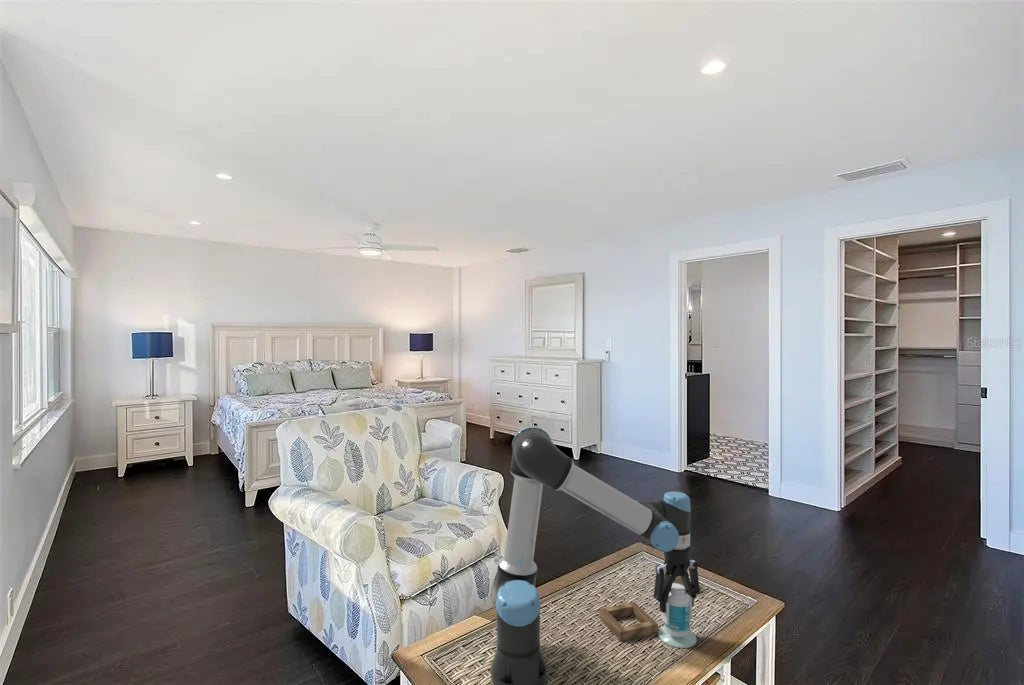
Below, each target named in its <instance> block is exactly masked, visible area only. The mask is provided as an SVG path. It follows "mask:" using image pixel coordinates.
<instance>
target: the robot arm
mask: <svg viewBox="0 0 1024 685" xmlns="http://www.w3.org/2000/svg"><path fill="white" fill-rule="evenodd" d="M511 448H512V449H511V450H512V456H511V465H510V470H509V471H510V474H511V476H513V477H514V481H513V487H512V488H513V489H512V493H511V494H512V495H511V504H510V511H509V518H508V519H509V520H508V526H507V535H506V543H505V548H504V556H502V557H501V558H500V559H499V560H498V564H497V571H496V572H495V576H494V580H493V589H494V598H495V599H494V600H495V610H496V612H495V613H496V650H495V653H494V656H493V659H492V661H491V665H490V681H491V683H492V685H546V683H547V678H548V677H547V676H548V675H547V674H548V670H547V669H548V668H547V664H546V661H545V659H544V655H543V651H542V649H541V617H540V615H541V612H540V611H541V598H540V594H539V591H538V589H537V587H536V580H537V572H538V566H537V564H536V562H535V561H534V556H535V548H536V541H537V532H538V525H539V518H540V510H541V503H542V496H543V489H544V486H546V487H548V488H550V489H551V490H553V491H556V492H558V491H563V492H564V493H566V494H568V495H570V496H571V497H573V498H575V499H577V500H578V501H580V502H581V503H583V504H584V505H587V506H588V507H590V508H592V509H594V510H595V511H597V512H599V513H601V514H602V515H604V516H606V517H607V518H609V519H611V520H613V521H615V522H616V523H618V524H619V525H621V526H623V527H625V528H626V529H628V530H630V531H631V532H633V533H635V534H637V535H638V536H640V537H641V538H643V539H644V540H646V541H648V542H650V543H651V545H652V546H653V547H654V548H655V549H657V550H659V551H660V552H663V556H664V561H663V564H662V565H659V564H658V565H655V567H654V568H655V572H656V573H655V581H654V589H653V598H654V599H655V600H656V601H658V602H659V611H661V620H662V621H663V623H664V622H665V623H666V624H667V625H668V624H669V602H668V601H667V599H668V596H669V593H670V590H671V587H672V584H673V581H675V579H676V577H678V576H681V578H682V581H683V584H684V586H685V593H686V594H687V595H688V597H689V599H690V620H692V619H693V607H694V605H695V599H696V598H697V597H698V596H697V595H700V593H701V591H700V582H699V573H698V569H699V568H698V567H699V562H698V561H696V560H694V559H693V558H691V547H690V546H691V512H692V510H691V499H690V497H689V495H687V494H686V493H684V492H680V491H668V492H665V493H664V495H663V499H661V500H660V499H659V500H635V499H634V498H631V497H630V496H628V495H627V494H625V493H623V492H622V491H620V490H618V489H617V488H615V487H613V486H611V485H610V484H608V483H606V482H605V481H602V480H601V479H600V478H598V477H596V476H595V475H593V474H591V473H589V472H587V471H586V470H584V469H582V468H581V467H579V466H577V465H575V462H574V459H573V458H572V457H570V456H568V455H566V454H565V453H564V452H563V451H562V450H560V449H559V448H558V447H557V446H556V444H555V443H554V442H553V441H552V439H551V436H550V434H548V432H547V431H545V430H544V429H542V428H541V427H537V426H526V427H523V428H522V429H520V430H519V431H518V432H516V434H515V435H514V437H513V439H512V442H511ZM665 570H666V572H665ZM688 570H689V572H688ZM664 574H665V579H664ZM670 575H671V576H670Z"/></svg>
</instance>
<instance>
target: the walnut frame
mask: <svg viewBox="0 0 1024 685" xmlns="http://www.w3.org/2000/svg"><path fill="white" fill-rule="evenodd" d="M598 611H599V619H600V620H601V622H602V623H603V624H604V625H605V626H606V627H607V628H608V630H610V632H611V633H612V634H613V635H614V636H615V637H616V639H617V640H618V641H619V642H624V641H628V640H633V639H637V638H641V637H645V636H650V635H654V634H658V631H659V629H658V626H659V625H658V623H657V622H656V620H654V619H653V618H652V617H651V616H650V615H649V614H648V613H647V612H646V611H644V609H643V608H642V607H640V606H639V604H637V602H635V601H633V602H628V603H624V604H618V605H614V606H613V605H612V606H609V607H604V608H600V609H599V610H598ZM629 616H634V618H635V620H637V621H638V622H640V623H636V624H631V625H627V626H622V625H621V624H620V623H619V621H617V619H619V618H624V617H629Z"/></svg>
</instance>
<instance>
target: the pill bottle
mask: <svg viewBox="0 0 1024 685" xmlns="http://www.w3.org/2000/svg"><path fill="white" fill-rule="evenodd" d="M687 594H688V593H687V592H686V589H685V587H684V586H683V585H681V584H677V583H673V584H672V587H671V590H670V593H669V596H668V599H667V601H668V602H669V624H668V625H667V624H666V623H665V622H664V621H663V626H664V628H665V630H666V632H667V633H669V634H670V635H673V636H676V637H684V636H687V635H688V634H689V632H690V630H691V629H690V628H691V626H690V623H691V622H690V620H691V619H690V599H689V597H688V595H687Z"/></svg>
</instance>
